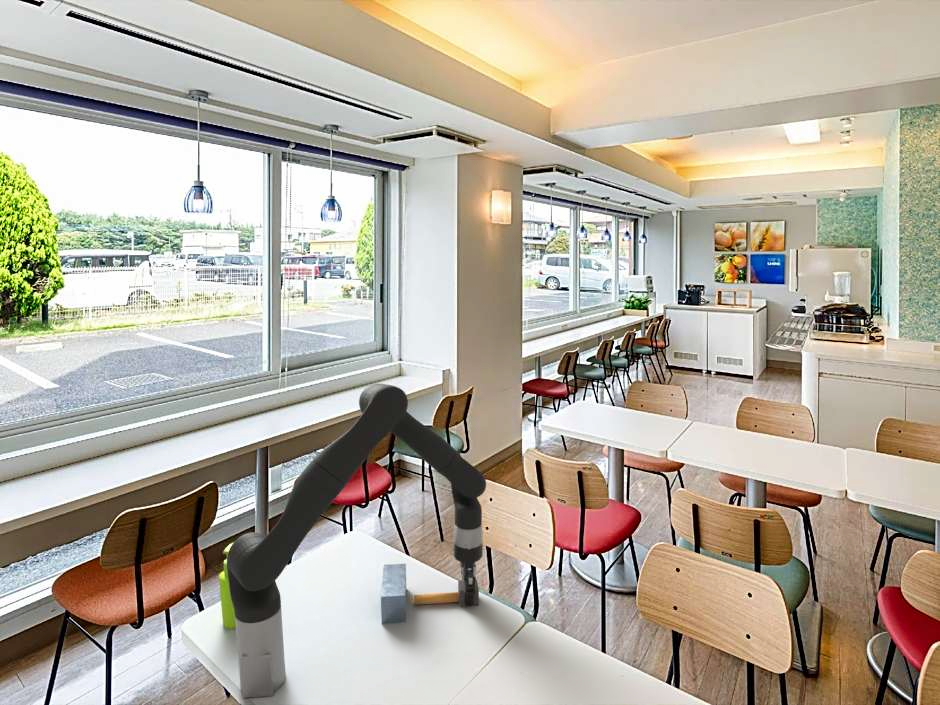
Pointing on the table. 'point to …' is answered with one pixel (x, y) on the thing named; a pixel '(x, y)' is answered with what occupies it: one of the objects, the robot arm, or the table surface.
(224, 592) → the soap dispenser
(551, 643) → the table surface
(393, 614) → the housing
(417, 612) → the table surface
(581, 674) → the table surface
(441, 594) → the hammer
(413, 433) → the robot arm
